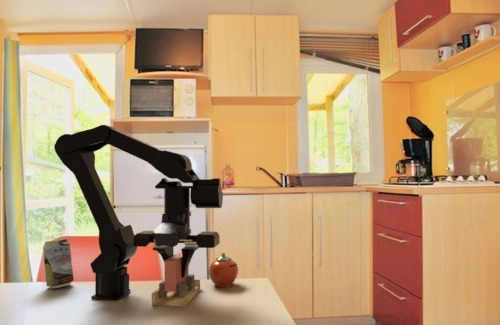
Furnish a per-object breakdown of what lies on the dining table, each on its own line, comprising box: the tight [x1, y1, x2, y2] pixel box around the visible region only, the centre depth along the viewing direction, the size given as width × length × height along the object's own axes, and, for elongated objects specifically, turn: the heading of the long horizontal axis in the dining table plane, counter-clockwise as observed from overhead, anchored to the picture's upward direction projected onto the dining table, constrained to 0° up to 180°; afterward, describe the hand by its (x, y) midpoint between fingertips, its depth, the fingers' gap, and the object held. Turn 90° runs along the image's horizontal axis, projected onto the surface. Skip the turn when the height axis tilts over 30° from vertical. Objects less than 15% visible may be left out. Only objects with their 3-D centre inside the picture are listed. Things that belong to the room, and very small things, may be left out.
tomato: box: [208, 252, 239, 288], centre depth 93 cm, size 7×7×8 cm
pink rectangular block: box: [164, 251, 190, 292], centre depth 85 cm, size 9×2×6 cm, turn 172°
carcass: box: [151, 273, 201, 307], centre depth 85 cm, size 7×12×4 cm, turn 172°
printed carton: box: [42, 237, 74, 289], centre depth 93 cm, size 6×7×12 cm
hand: (177, 277), depth 85 cm, fingers closed on pink rectangular block, 2 cm apart
